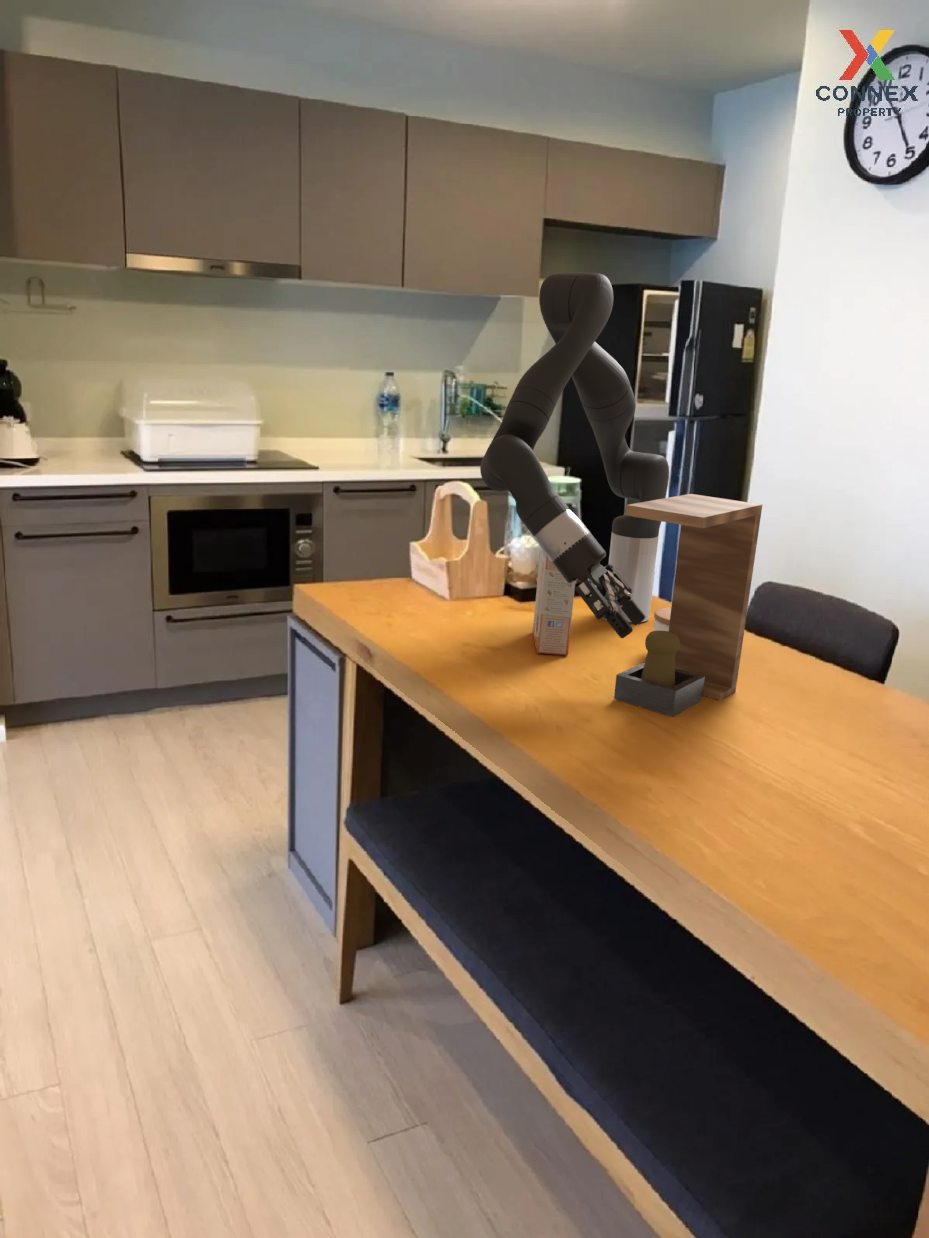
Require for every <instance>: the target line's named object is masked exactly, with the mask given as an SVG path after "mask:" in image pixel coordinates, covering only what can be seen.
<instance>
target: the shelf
mask: <svg viewBox="0 0 929 1238" xmlns="http://www.w3.org/2000/svg"><path fill="white" fill-rule="evenodd" d="M625 509H626V510H625V515H627V516H633V517H639V518H645V519H651V520H657V521H661V523H662V522H665V523H669V524H675V525H680V532H679V533H680V535H679V543H678V551H677V558H676V559H677V560H676V567H675V576H674V585H673V593H672V600H671V615H670V623H669V632H672V633H674V634H676V635H677V636H678V638H679V640H680V647H679V650H678V652H677V653H676V654H675V669H679V670H682V671H686V672H690V673H694V674H697V675H701V676H705V679H704V686H703V694H702V696H705V697H708V698H712V699H715V700H719V701H721V700H723V699H725V698H727V697H728V696H730V695H732V694H733V693H735V692H736V691H737V683H738V677H739V670H740V664H741V663H740V662H741V658H742V657H741V656H742V650H743V642H744V635H745V629H746V621H747V615H748V608H749V601H750V593H751V588H752V586H751V585H752V580H753V575H754V574H753V573H754V572H753V571H754V565H755V559H756V553H757V544H758V537H759V532H760V524H761V518H762V510H763V504H760V503H753V502H748V501H741V500H734V499H729V498H723V497H721V498H720V497H715V496H714V497H713V496H707V495H701V494H695V493H694V494H693V493H686V494H682V495H677V496H670V497H666V498H664V499H658V500H652V501H646V502H641V503H639V502H635V503H630V504H626V508H625Z"/></svg>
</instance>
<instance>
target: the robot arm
mask: <svg viewBox="0 0 929 1238" xmlns="http://www.w3.org/2000/svg"><path fill="white" fill-rule="evenodd" d="M538 302H539V309H540V313H541V316H542V320H543V322H544V324H545V326H546V328H547V330H548V333H549V335H550V337H551V338H552V340H553V342H554V345H553V347H551V348H550V349H549V350H547V352H546V353H545V354H543V355H542V356H541V357H540V358H539V359H538V360H537V361H536V362H534V363H533V364H532V365H531V366H530V367H529V368H528V369H527V370H526V371H525V372H524V374H523V375H522V377H521V378H520V379H519V381H518V383H517V385H516V387H515V388H514V391H513V393H512V396H511V398H510V399H509V401H508V404H507V406H506V408H505V411H504V415H503V417H502V420H501V423H500V426H499V427H498V429H497V430H496V432H495V434H494V437H492V440H491V442H490V444H489V446H488V447H487V449H486V451H485V454H484V456H483V458H482V460H481V462H480V467H479V468H480V476H481V479H482V481H483V483H484V484H485V485H486V486H487V487H488V488H489V489H491V490H493V491H495V492H506V491H508V492H509V493H510V495H511V496H512V498H513V499H514V500H513V501H514V502H515V512H516V514H517V516H518V518H519V519H520V521H521V522H522V523H523V524H524V526H525V527H526V528H527V530H528V531H529V532H530V534H532V536H533V537H534V538H535V540H536V542H537V544H538V545H539V547H540V548H542V550H543V551H544V553H545V554H546V555H547V556H548V558H549V559H550V560H551V562H552V563H553V564H554V565H555V567H556V568H557V569H558V571H559V572H560V573H561V574H562V576H563V577H564V578H565V579H566V581H567V582H568V583H572V582H574V581H575V582H576V581H577V580H579V582H580V584H579V585H578V586H575V592H577V593H578V595H579V597H581V599H582V600H583V602H584V603H585V605H586V606H587V607H588V608H589V610H590V612H591V613H593V615H594V616H595V618H597V620H601V619H603V620H604V621H606V622H607V623H608V624H609V625H610V627H611V628H612V629H613V630H614V631H615V633H616V634H617V636H618V637H619V638H620V639H625V638H626V637H627V636H628V635H630V634H631V633H632V632H633V627H632V626H631V624H632V625H634V626H637V625H639V624H640V623H644V622H647V621H649V619H650V616H651V606H652V601H653V600H652V598H653V589H654V582H655V572H656V571H655V568H656V559H657V553H658V552H657V550H658V549H657V548H658V542H659V532H660V527H661V525H662V521H657V520H651V519H645V518H639V517H633V516H627V515H626V514H625V515H620V516H617V517H615V518H614V519H613V521H612V524H611V527H612V528H611V536H610V546H609V556H608V564H606V565H605V566H603V565H602V564H601V561H603V559H605V557H606V556H607V552H606V550H605V549H604V548H603V546H602V545H601V544H600V543H599V542H598V540H597V539H596V537H594V535H593V534H592V532H591V531H590V530H589V529H588V528H587V526H586V525H585V524H584V522H583V521H582V520H581V519H580V518H579V517H578V516H577V515H576V514H575V513H574V512H573V511H572V510H571V508H570V507H569V506H568V505H567V503H566V502H565V501H564V500H563V498H562V497H561V496H560V494H558V492H557V491H556V490H555V489H554V487H553V486H552V484H551V482H550V480H549V477H548V475H547V473H546V471H545V470H544V468H543V466H542V464H541V463H540V461H539V458H538V457H537V455H536V454H535V452H534V449H535V447H536V444H537V442H538V441H539V439H540V437H541V436H542V434H543V433H544V432H545V429H546V428H547V426H548V424H549V421H550V419H551V417H552V415H553V413H554V410H555V408H556V406H557V403H559V402H558V401H559V399H560V397H561V395H562V393H563V391H564V390H565V387H566V386H567V384H568V382H569V381H570V379H571V378H572V381H573V383H574V385H575V388H576V391H577V394H578V397H579V400H580V403H581V405H582V408H583V410H584V413H585V415H586V417H587V420H588V422H589V424H590V426H591V429H592V431H593V434H594V437H595V441H596V442H597V446H598V449H599V452H600V456H601V459H602V464H603V468H604V472H605V475H606V479H607V482H608V485H609V487H610V489H611V491H612V492H613V494H614V495H616V496H617V497H620V498H623V499H630V500H633V501H634V500H635V501H639V502H638V503H641V502H646V501H652V500H658V499H664V498H667V491H668V486H669V479H670V466H669V462H668V459H667V458H666V457H665V456H663V455H660V454H656V453H648V452H639V451H633V450H632V449H631V448H629V446H628V443H627V441H626V438H625V437H626V436H625V435H626V433H627V431H628V429H629V427H630V425H631V423H632V421H633V418H634V417H635V416H634V415H635V412H636V407H637V406H636V405H637V404H636V397H635V393H634V391H633V388H632V386H631V383H630V380H629V377H628V375H627V373H626V371H625V369H624V368H623V367H622V366H621V365H620V364H619V363H618V361H617V360H616V359H615V358H614V357H613V356H612V355H610V353H608V352H607V351H606V350H605V349H603V347H602V346H601V345H599V344H598V343H597V342H596V340H597V339H598V337H600V334H601V333H602V332H603V330H604V328H605V327H606V325H607V323H608V321H609V318H610V316H611V313H612V312H613V307H614V290H613V287H612V283H611V282H610V279H609V278H608V277H607V276H606V275H605V274H602V273H598V272H558V273H553V274H549V276H547V277H546V278H545V279H544V280H543V282H542V284H541V286H540V288H539V295H538ZM630 623H631V624H630Z"/></svg>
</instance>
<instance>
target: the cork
mask: <svg viewBox="0 0 929 1238" xmlns="http://www.w3.org/2000/svg"><path fill="white" fill-rule="evenodd" d="M644 640H645V643H644V645H645V646H644V647H645V649H646V650H647V655H646V658H645V661H644V662H645V665H644V669H643V672H642V676H641V679H644V680H647V681H651V682H654V683H658V684H661V685H665V686H669V687H674V686H675V654H676V653H677V652H678V650H679V647H680V640H679V638H678V636H677V635H676V634H674V633H672V632H668V631H661V630H659V631H654V630H653V631H650V632H649V633H648V634H647V635H646V637H645V639H644Z"/></svg>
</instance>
